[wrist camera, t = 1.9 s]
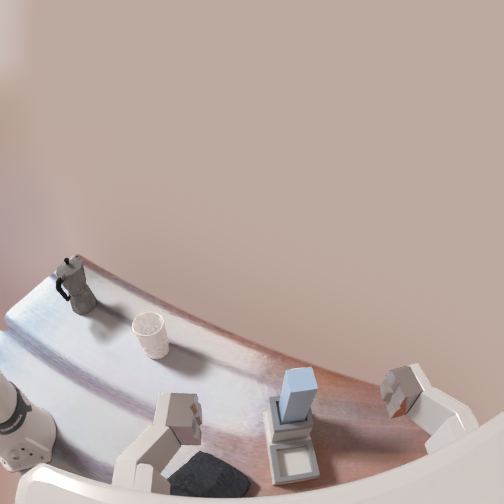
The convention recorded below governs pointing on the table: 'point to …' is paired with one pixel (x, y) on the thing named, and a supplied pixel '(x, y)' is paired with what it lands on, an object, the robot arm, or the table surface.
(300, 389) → the plug
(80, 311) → the coffeepot
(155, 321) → the white cup
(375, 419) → the table surface
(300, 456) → the stepped base with tray
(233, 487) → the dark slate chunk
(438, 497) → the robot arm
